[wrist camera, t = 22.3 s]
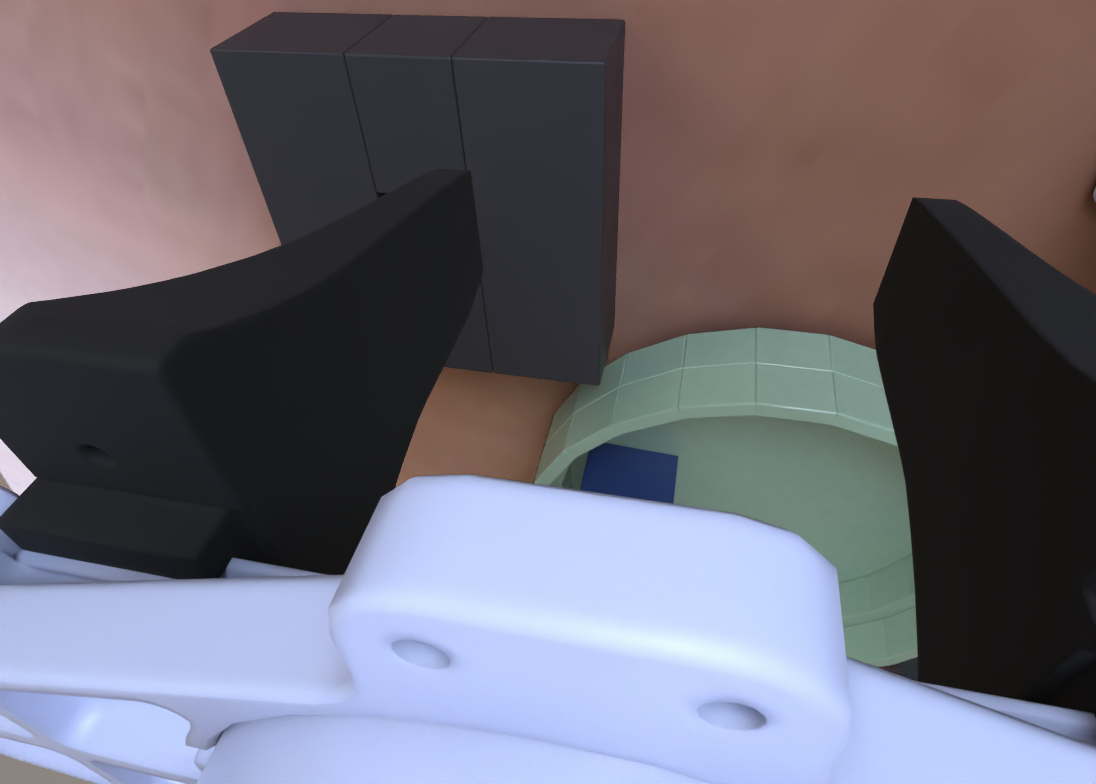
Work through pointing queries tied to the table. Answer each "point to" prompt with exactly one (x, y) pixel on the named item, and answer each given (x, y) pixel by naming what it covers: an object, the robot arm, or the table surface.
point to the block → (630, 473)
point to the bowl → (768, 455)
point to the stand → (455, 156)
